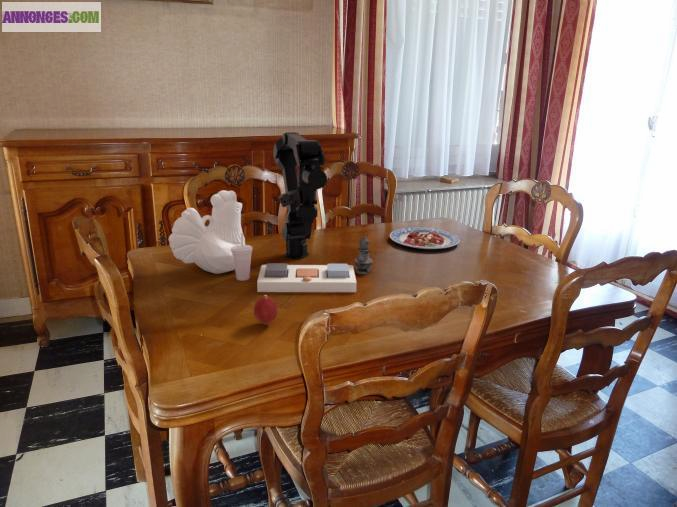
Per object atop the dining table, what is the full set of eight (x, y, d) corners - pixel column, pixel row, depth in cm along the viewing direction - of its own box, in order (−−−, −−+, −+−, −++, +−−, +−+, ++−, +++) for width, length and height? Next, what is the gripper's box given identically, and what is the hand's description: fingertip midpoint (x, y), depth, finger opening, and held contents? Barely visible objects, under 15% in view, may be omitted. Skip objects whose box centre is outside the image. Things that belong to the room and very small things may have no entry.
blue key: (327, 280, 152) (328, 270, 151) (327, 272, 158) (327, 263, 157) (348, 280, 152) (348, 270, 151) (347, 273, 158) (347, 263, 157)
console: (257, 291, 148) (257, 280, 147) (262, 274, 161) (261, 263, 160) (356, 292, 149) (356, 280, 148) (352, 274, 162) (353, 263, 161)
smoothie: (257, 276, 159) (256, 232, 155) (247, 283, 154) (245, 238, 149) (238, 273, 161) (236, 229, 157) (228, 280, 155) (225, 235, 151)
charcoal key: (265, 280, 151) (265, 270, 150) (267, 272, 157) (267, 263, 156) (286, 280, 151) (286, 270, 150) (287, 272, 157) (287, 263, 156)
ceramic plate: (391, 230, 210) (391, 223, 209) (456, 234, 206) (457, 227, 205) (387, 251, 185) (388, 243, 184) (461, 256, 182) (462, 247, 181)
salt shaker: (371, 275, 162) (372, 238, 158) (352, 273, 163) (353, 236, 159) (373, 268, 168) (375, 233, 164) (355, 267, 169) (356, 231, 165)
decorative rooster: (235, 256, 176) (232, 183, 168) (256, 270, 164) (254, 192, 156) (160, 270, 162) (153, 191, 154) (178, 287, 150) (170, 202, 142)
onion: (255, 319, 131) (254, 290, 129) (278, 319, 132) (277, 289, 129) (253, 330, 126) (252, 299, 123) (277, 329, 127) (277, 299, 124)
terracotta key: (296, 285, 152) (296, 275, 151) (297, 277, 158) (297, 268, 157) (317, 285, 152) (317, 275, 151) (317, 277, 158) (317, 268, 157)
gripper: (282, 176, 166) (282, 223, 171) (278, 188, 148) (279, 241, 153) (317, 176, 167) (316, 224, 172) (317, 189, 149) (317, 241, 154)
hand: (307, 232), depth 163 cm, fingers closed
